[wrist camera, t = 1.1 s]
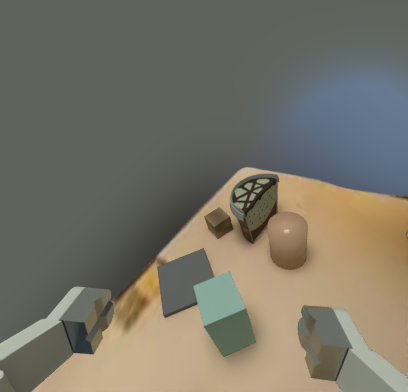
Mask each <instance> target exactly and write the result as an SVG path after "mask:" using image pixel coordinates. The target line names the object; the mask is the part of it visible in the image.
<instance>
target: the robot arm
mask: <svg viewBox="0 0 408 392" xmlns="http://www.w3.org/2000/svg"><path fill="white" fill-rule="evenodd" d="M407 237H408V231H407ZM110 298H111V293H110V290H105V289H96V288H84V287H74V288H72V289H71V290H70V291H69V292H68V294H67V295H66V296H65V297H64V298H63V299H62V301H61V302H60V303H59V304H58V305H57V307H56V308H55V309H54V310H53V311H52V312H51V314H50V315H49V316H48V317H47V318H46V319H41V320H40V321H38V322H36V323H35V324H33V325H31V326H30V327H28V328H26V329H24V330H23V331H21V332H19V333H18V334H16V335H14V336H12V337H11V338H9V339H7V340H6V341H4V342H2V343H1V344H0V392H31V391H32V390H34V389H35V388H36V387H37V386H38V385H39V384H40V383H41V382H43V381H44V380H45V379H46V378H47V377H48V376H49V375H50V374H52V373H53V372H54V371H55V370H56V369H57V368H58V367H59V366H61V365H62V364H63V363H64V362H65V361H66V360H67V359H69V358H70V357H71V356H72V355H73V353H82V354H94V353H95V351H96V350H97V348H98V346H99V344H100V342H101V340H102V338H103V336H102V332H103V331H104V330H106V329H107V328H108V327H109V325H110V323H111V321H112V318H113V314H114V306H113V303H112V302H111V301H110ZM301 313H302V316H303V317H302V318H301V319H300V320H299V323H298V335H299V340H300V344H301V346H302V347H303V349H304V350H305V351H306V352H307V353H306V357H305V360H306V363H307V366H308V369H309V373H310V376H311V378H315V379H322V380H329V381H336V384H337V385H338V386H339V387H340V389H341V390H342V391H343V392H408V378H407V377H405V376H404V375H403V374H402V373H401V372H399V371H398V370H397V369H396V368H395V367H393V366H392V365H391V364H390V363H388V362H387V361H386V360H385V359H384V358H382V357H381V356H380V355H379V354H378V353H376V352H375V351H371V350H369V348H368V346H367V345H366V343H365V341H364V339H363V338H362V336H361V334H360V333H359V331H358V329H357V328H356V326H355V324H354V323H353V321H352V319H351V317H350V316H349V314H348V312H347V311H346V310H345V309H344V308H333V307H330V308H329V307H321V306H306V305H304V306H303V307H302V310H301Z"/></svg>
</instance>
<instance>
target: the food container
mask: <svg viewBox="0 0 408 392" xmlns="http://www.w3.org/2000/svg"><path fill="white" fill-rule="evenodd" d="M278 182H279V178H278V176H277V175H276V174H257V175H253V176H250V177H247V178H245V179H243V180H241V181H240V182H239V183H237V184H236V185H235V187H234V188H233V190H232V192H231V195H230V208H231V211H232V213H233V214H234V215H235V216H236V217H237V218H238V221H239V223H240V226H241V229H242V232H243V234H244V236H245V238H246V239H247V240H248V241H249V242H251V243H253V244H254V243H255V241H256V240H257V239H258V238H259V236H260V235H261V234H262V233H263V231H264V230H265V229H266V228H267V226H268V221H269V219H270V218H271V217H272V216H274V215H275V214H277V188H278Z"/></svg>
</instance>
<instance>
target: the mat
mask: <svg viewBox="0 0 408 392" xmlns="http://www.w3.org/2000/svg"><path fill="white" fill-rule="evenodd" d="M157 268H158V276H159V284H160V292H161V300H162V308H163V316H164V317H168V316H170V315H172V314H175V313H177V312H180V311H182V310H184V309H187V308H189V307H191V306H194V305H196V304H198V302H197V298H196V295H195V291H194V287H193V286H195V285H197V284H199V283H202V282H204V281H207V280H209V279H211V278H214V276H213V273H212V270H211V267H210V265H209V262H208V259H207V256H206V253H205V251H204V248H203V249H200V250H198V251H195V252H193V253H190V254H188V255H185V256H183V257H180V258H178V259H176V260H173V261H171V262H168V263H166V264H163V265H161V266H158V267H157Z"/></svg>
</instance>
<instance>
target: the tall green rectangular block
mask: <svg viewBox="0 0 408 392" xmlns="http://www.w3.org/2000/svg"><path fill="white" fill-rule="evenodd" d="M193 287H194V291H195V295H196V298H197V302H198V306H199V310H200V314H201V318H202V321H203V325H204V327H205V329H206V331H207V332H208V334H209V335H210V337H211V338H212V340H213V341H214V343H215V344H216V346H217V347H218V349H219V351H220V352H221V354H222V355H223V357H224V356H226V355H229V354H231V353H233V352H235V351H238V350H240V349H242V348H244V347H247V346H249V345H251V344H254V343H256V340H255V336H254V333H253V330H252V327H251V323H250V320H249V317H248V314H247V310H246V307H245V305H244V303H243V301H242V298H241V296H240V294H239V291H238V289H237V287H236V285H235V282H234V280H233V278H232V275H231V273H230V271H228V272H226V273H224V274H221V275H219V276H216V277H214V278H211V279H209V280H207V281H204V282H202V283H199V284H197V285H195V286H193Z"/></svg>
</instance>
